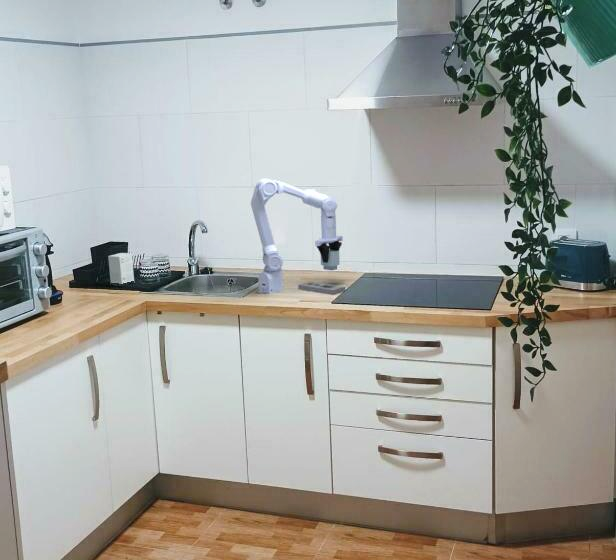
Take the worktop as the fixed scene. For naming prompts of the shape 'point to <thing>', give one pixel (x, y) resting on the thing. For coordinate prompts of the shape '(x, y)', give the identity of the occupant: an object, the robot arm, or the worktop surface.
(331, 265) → the block
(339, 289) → the grey control panel
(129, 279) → the small box
